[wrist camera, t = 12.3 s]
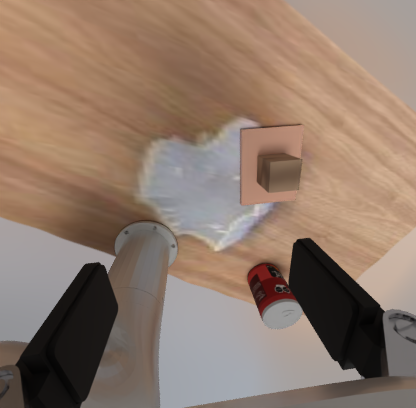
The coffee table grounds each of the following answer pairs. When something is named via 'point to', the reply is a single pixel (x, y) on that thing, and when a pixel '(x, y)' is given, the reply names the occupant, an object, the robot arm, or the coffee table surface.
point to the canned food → (273, 297)
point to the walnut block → (278, 172)
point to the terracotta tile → (264, 145)
